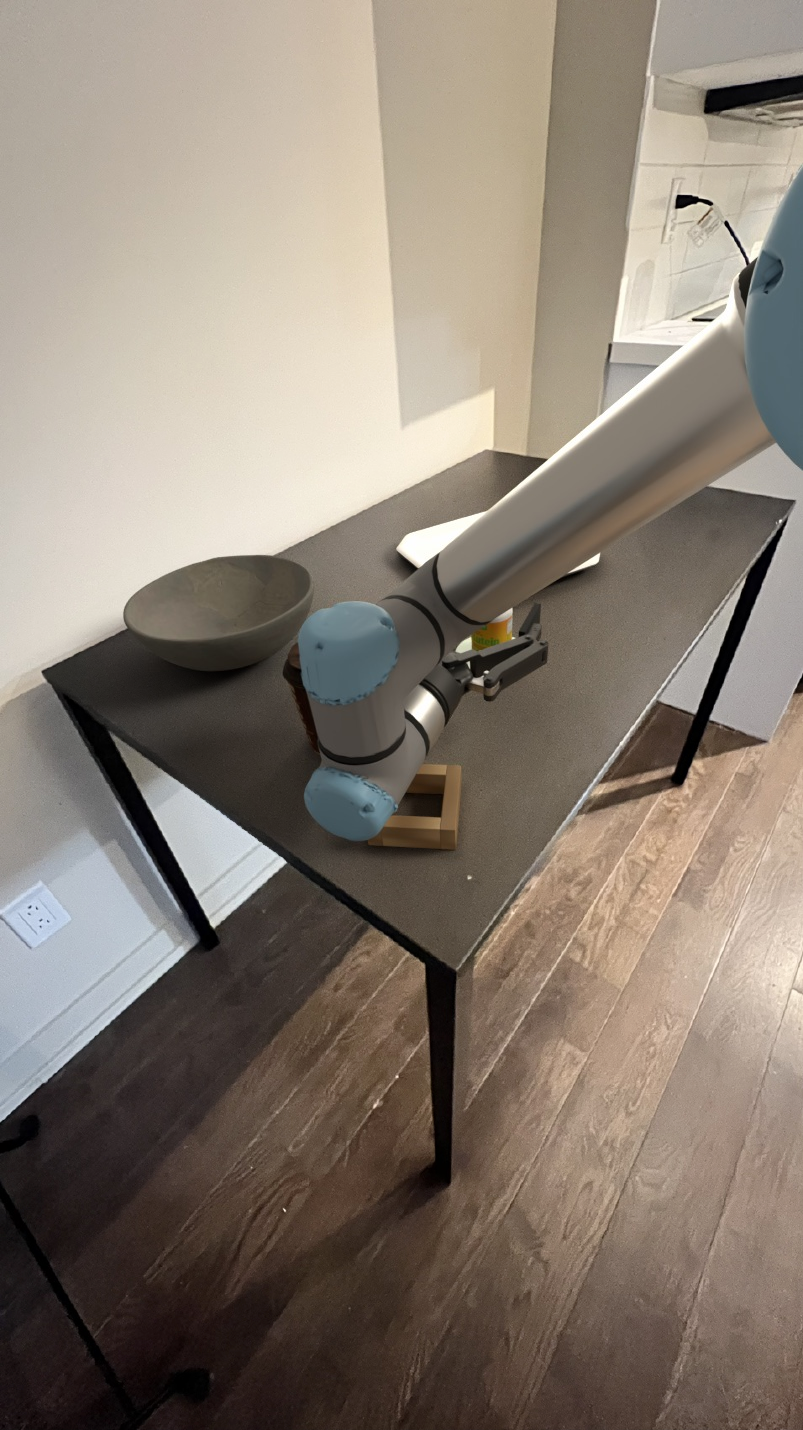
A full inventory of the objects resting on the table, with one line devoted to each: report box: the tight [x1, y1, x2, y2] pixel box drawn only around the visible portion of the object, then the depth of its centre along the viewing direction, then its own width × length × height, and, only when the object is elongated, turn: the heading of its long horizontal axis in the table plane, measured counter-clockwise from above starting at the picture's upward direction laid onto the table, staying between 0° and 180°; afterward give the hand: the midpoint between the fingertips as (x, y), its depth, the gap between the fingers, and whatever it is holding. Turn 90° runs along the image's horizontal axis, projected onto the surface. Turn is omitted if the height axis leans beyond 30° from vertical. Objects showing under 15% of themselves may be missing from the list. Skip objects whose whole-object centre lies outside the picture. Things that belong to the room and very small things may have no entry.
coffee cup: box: [282, 641, 321, 756], centre depth 71 cm, size 9×8×13 cm
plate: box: [395, 510, 602, 578], centre depth 108 cm, size 29×29×2 cm
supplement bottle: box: [470, 608, 513, 651], centre depth 82 cm, size 5×5×10 cm
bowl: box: [122, 554, 315, 672], centre depth 90 cm, size 26×26×10 cm
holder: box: [367, 763, 463, 851], centre depth 64 cm, size 9×9×3 cm
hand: (483, 604), depth 77 cm, fingers open, 13 cm apart
